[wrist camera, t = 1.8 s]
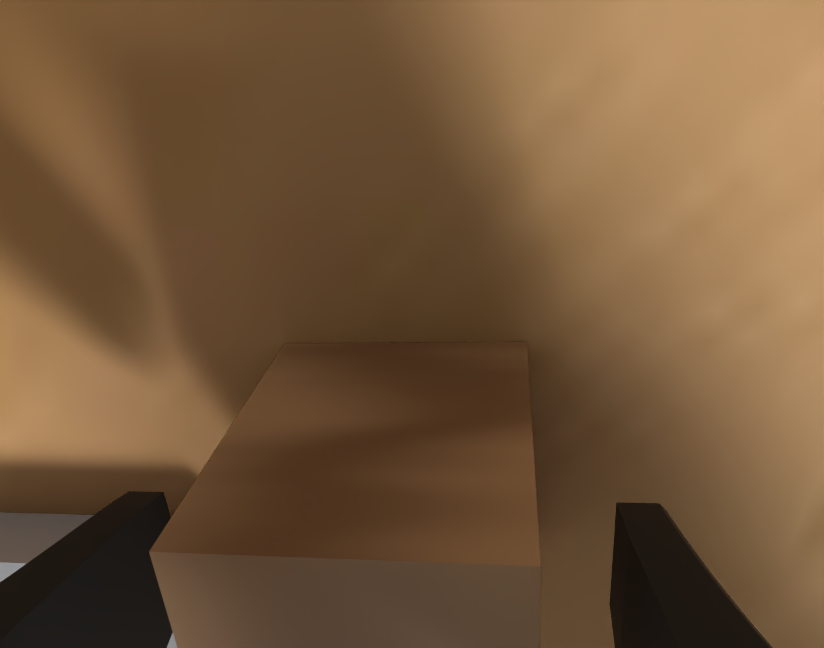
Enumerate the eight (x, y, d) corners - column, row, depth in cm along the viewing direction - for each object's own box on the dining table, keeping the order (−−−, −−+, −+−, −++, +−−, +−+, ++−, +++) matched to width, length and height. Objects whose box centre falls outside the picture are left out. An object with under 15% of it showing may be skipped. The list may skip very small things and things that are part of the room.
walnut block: (526, 340, 12) (541, 565, 7) (527, 536, 14) (538, 820, 9) (285, 342, 13) (149, 550, 8) (316, 529, 15) (220, 792, 10)
